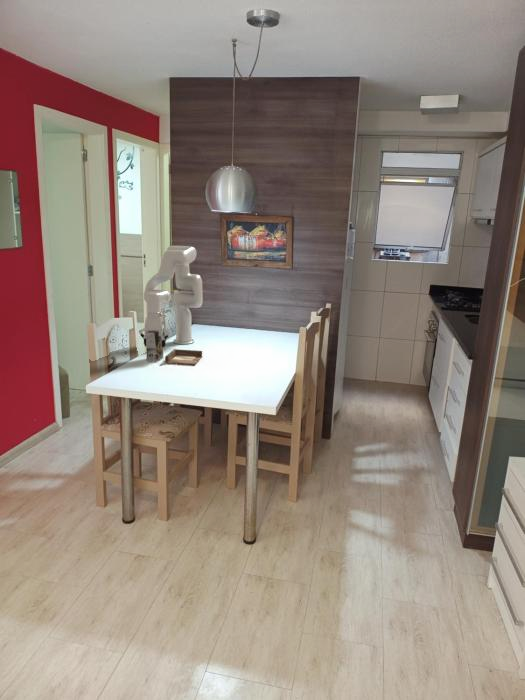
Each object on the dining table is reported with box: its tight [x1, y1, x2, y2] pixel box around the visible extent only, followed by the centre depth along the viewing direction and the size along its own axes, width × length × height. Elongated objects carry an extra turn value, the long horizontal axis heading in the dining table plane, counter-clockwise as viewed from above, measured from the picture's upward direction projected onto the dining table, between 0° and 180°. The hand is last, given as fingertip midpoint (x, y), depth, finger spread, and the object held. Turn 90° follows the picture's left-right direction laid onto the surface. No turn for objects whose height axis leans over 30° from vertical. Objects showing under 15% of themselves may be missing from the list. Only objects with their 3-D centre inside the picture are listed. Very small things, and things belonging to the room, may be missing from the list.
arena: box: [164, 348, 203, 367], centre depth 285 cm, size 16×16×4 cm
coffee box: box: [145, 332, 164, 363], centre depth 285 cm, size 9×6×16 cm
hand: (154, 346), depth 285 cm, fingers open, 9 cm apart
